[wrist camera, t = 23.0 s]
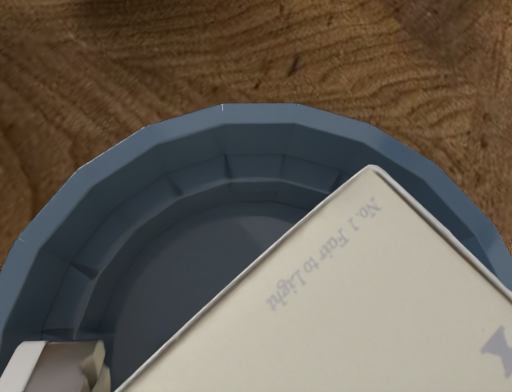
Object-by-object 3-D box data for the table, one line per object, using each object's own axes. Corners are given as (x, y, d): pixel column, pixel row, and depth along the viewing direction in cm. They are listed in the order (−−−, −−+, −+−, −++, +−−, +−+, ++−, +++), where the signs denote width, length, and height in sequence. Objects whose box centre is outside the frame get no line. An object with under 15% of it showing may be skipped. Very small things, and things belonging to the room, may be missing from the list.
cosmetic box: (279, 259, 18) (377, 138, 7) (352, 339, 18) (601, 356, 6) (164, 365, 17) (36, 441, 5) (239, 458, 16) (282, 790, 4)
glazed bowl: (416, 164, 21) (489, 101, 15) (486, 574, 16) (634, 709, 10) (68, 169, 20) (6, 102, 14) (27, 622, 15) (-98, 810, 9)
